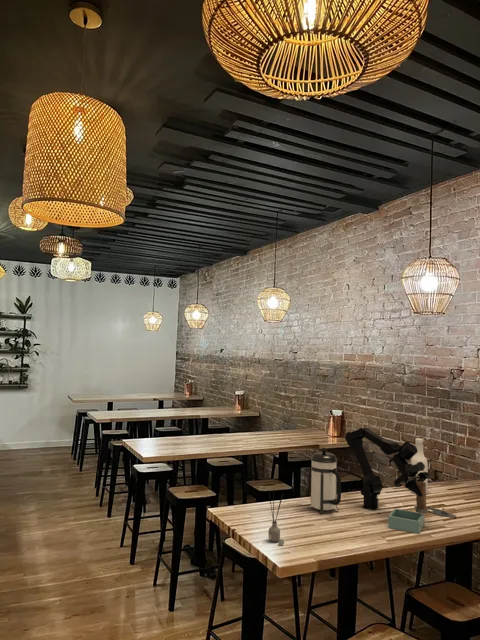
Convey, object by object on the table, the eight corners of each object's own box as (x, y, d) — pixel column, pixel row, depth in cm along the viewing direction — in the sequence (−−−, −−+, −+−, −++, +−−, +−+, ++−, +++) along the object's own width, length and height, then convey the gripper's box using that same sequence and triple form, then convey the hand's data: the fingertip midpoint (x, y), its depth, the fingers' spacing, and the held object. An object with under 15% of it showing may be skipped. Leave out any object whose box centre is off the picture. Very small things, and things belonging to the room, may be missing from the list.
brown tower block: (413, 511, 217) (412, 481, 218) (420, 509, 220) (419, 480, 221) (422, 513, 213) (421, 483, 214) (429, 512, 215) (429, 482, 217)
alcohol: (425, 496, 263) (425, 440, 265) (409, 493, 268) (409, 439, 270) (429, 492, 271) (429, 438, 273) (413, 490, 275) (413, 437, 278)
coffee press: (304, 513, 230) (305, 449, 232) (312, 503, 245) (312, 444, 247) (340, 518, 224) (341, 452, 226) (346, 508, 238) (346, 447, 241)
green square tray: (388, 527, 213) (388, 516, 213) (394, 519, 224) (394, 508, 224) (419, 533, 206) (419, 521, 207) (424, 525, 217) (424, 513, 218)
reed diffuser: (262, 538, 196) (263, 488, 198) (274, 535, 201) (275, 486, 202) (279, 547, 188) (280, 494, 190) (291, 543, 193) (292, 492, 194)
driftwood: (459, 518, 229) (459, 514, 229) (450, 520, 226) (449, 516, 226) (422, 506, 247) (422, 502, 247) (413, 508, 244) (413, 504, 244)
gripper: (399, 457, 217) (419, 489, 207) (426, 454, 227) (446, 483, 217) (385, 471, 223) (404, 502, 213) (412, 467, 233) (431, 497, 223)
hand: (422, 496), depth 216 cm, fingers closed on brown tower block
